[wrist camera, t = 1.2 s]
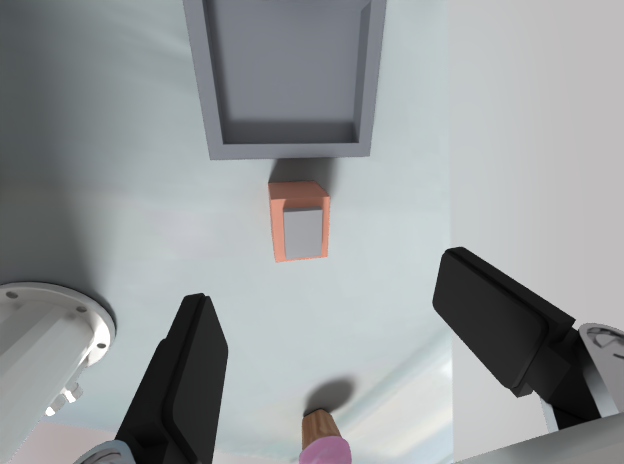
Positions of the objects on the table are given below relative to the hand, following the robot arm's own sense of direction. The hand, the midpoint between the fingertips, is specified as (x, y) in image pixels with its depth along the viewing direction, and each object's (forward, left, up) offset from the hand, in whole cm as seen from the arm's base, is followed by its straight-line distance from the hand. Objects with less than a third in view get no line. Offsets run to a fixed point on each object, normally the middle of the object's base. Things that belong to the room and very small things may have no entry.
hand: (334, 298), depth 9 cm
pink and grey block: (-2, -1, -18) cm, 18 cm away
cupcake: (-44, -4, -18) cm, 48 cm away
